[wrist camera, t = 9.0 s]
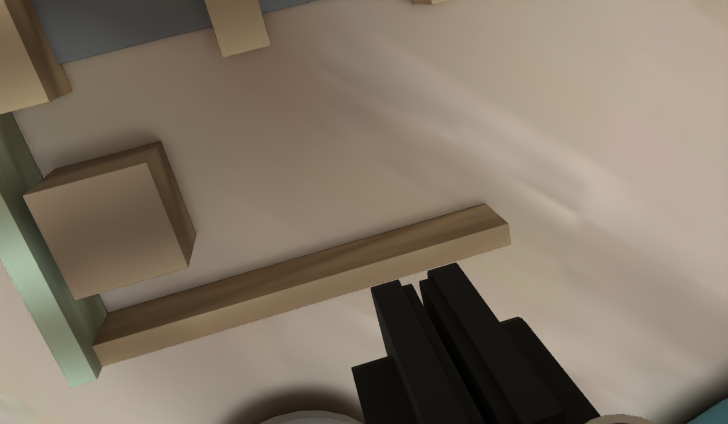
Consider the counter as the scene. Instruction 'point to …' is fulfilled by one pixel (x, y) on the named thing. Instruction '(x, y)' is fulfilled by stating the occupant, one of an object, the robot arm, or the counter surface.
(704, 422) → the casserole dish
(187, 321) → the trap box
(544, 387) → the robot arm
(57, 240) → the walnut block
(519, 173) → the counter surface
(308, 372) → the counter surface
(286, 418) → the coffee pot
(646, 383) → the counter surface
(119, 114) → the counter surface
